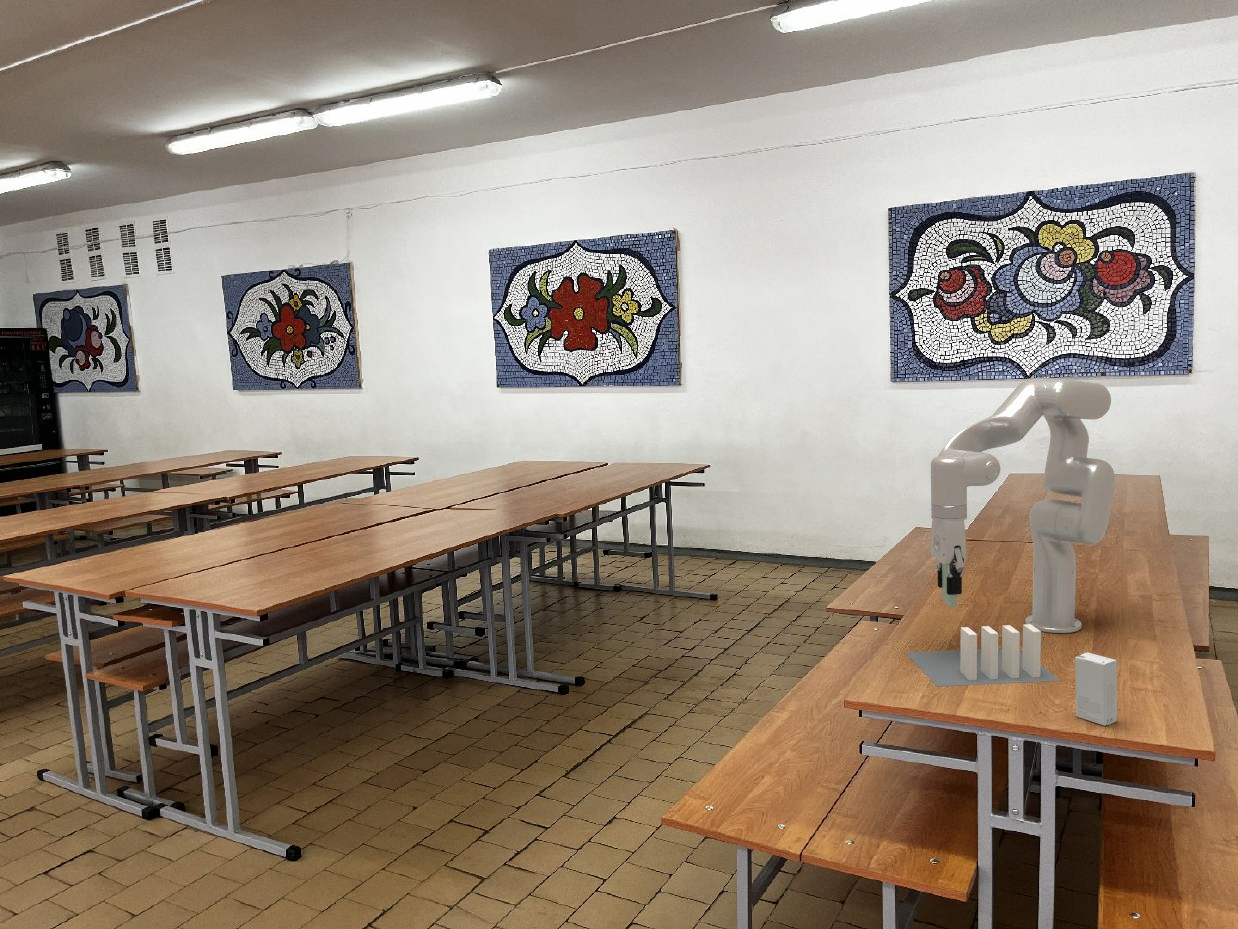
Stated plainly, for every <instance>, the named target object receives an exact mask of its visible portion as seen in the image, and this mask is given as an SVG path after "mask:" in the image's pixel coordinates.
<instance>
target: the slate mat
mask: <svg viewBox="0 0 1238 929" xmlns="http://www.w3.org/2000/svg"><path fill="white" fill-rule="evenodd" d="M905 654H906V655H907V656H908V657H909V658H910V659H911V660H912V662H913V663H914V664H915V665H916V666H917V667H918V668H919V669H920V670H921V671H922V672H923V673H924V675H925V676H926V677H927V678H928V679H929V681H931V682H932V683H933V684H934V685H935V686H936V688H937V687H939V688H941V687H961V686H978V685H980V686H981V685H999V684H1000V685H1002V684H1005V685H1006V684H1020V683H1021V684H1022V683H1023V684H1025V683H1044V682H1047V683H1048V682H1061V681H1062V680H1061V679H1059V678H1058V677H1057V676H1056V675H1054V674H1053V673H1052V672H1050V671H1049V670H1048V669H1046V668H1045V667H1044V666H1042V664H1040V677H1032V676H1030V675H1029V674H1028V673H1027V672H1026V671H1024V670H1023V669H1022V666H1023V649H1021V648H1019V678H1011V677H1009V676H1008V675H1007V674H1006V673H1005V672H1004V671H1002V647H998V679H989V678H988V677H987V676H986V675H985V674H984V673H983V672H982V671H981V648H977V680H968V679H967V678H966V677H965V676H964V675H963V674H962V673H961V672H960V656H961V649H955V650H954V649H953V650H933V651H931V650H930V651H912V652H911V651H910V652H905Z"/></svg>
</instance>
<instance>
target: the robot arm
mask: <svg viewBox="0 0 1238 929" xmlns="http://www.w3.org/2000/svg"><path fill="white" fill-rule="evenodd" d="M1111 403H1112V396H1111V394H1110V391H1109V389H1108V388H1107V387H1106V386H1105V385H1103V384H1101V383H1098V382H1089V381H1082V380H1076V379H1070V378H1069V379H1068V378H1056V377H1055V378H1054V377H1053V378H1050V377H1049V378H1046V377H1045V378H1044V377H1034V378H1033V377H1032V378H1028V379H1025V380H1023V381H1022V382H1020V383H1019V384H1018V386H1016V387H1015V388H1014V390H1013V391H1012V392H1011V393H1010V394H1009V396H1007V398H1006V399H1005V400H1004V402H1003V403H1002V404H1001V405H1000V406H998V408H997V409H996V410H995V412H993V414H991V415H990V416H989V417H986V418H984V419H982V420H979V421H978V422H976V423H974V424H972V425H970V426H967V427H965V428H963V430H960V431H959V432H957V433H956V434H955V435H954V436H953V437H952V438H950V440H949V441H948V442H947V443H946V444H945V446H944V447H943V448H942V449H941V451H940V452H939V454H938V456H935V457H934V458H932V459H931V461H930V512H931V513H930V516H931V519H932V520H931V528H930V530H931V532H930V555H931V557H932V558H934V559H935V560H936V561H937V565H936V568H937V587H938V588H940V589H942V564H944V565H947V569H948V577H946V578H947V594H948V595H956V594H957V595H961V594H962V592H963V587H962V586H963V571H964V569H965V563H966V561H967V539H966V537H967V536H966V526H965V525H966V524H965V520H966V519H968V487H985V486H988V485H990V484H992V483H994V482H996V480H997V479H998V478H999V476H1000V474H1001V464H1000V461H999V460H998V458H997V457H995V456H994V455H992V454H991V453H988V452H984V451H988V450H993V449H995V448H1000V447H1001V448H1003V447H1005V446H1010V445H1012V444H1017V443H1018V442H1021V440H1023V439H1024V437H1026V435H1027V434H1028V433H1029V431H1030V430H1031V429H1033V427H1034V426H1035V425H1036V424H1037V422H1038V421H1039V420H1040V419H1041V418H1042V417H1044V419H1045V421H1046V423H1047V426H1048V427H1049V432H1050V440H1049V447H1048V451H1047V457H1046V463H1045V467H1044V473H1043V484H1044V487H1045V488H1046V490H1047V491H1049V493H1052V494H1057V495H1061V496H1062V495H1063V496H1069V497H1075V498H1076V497H1077V498H1081V502H1076V501H1071V500H1070V501H1069V500H1062V499H1052V498H1048V499H1047V498H1046V499H1042V500H1039V501H1037V502H1036V503H1034V505H1032V507H1031V509H1030V511H1029V517H1028V520H1029V527H1030V533H1031V538H1032V550H1033V554H1032V555H1033V556H1032V558H1033V559H1032V560H1033V561H1032V566H1033V567H1032V613H1031V615H1028V616H1027V617H1025V624H1031V625H1032V626H1034V627H1035V628H1037V629H1038V630H1040V631H1041V632H1045V633H1053V634H1070V633H1074V632H1078V631H1079V630H1081V629H1082V622H1081V621H1080V620H1079V619H1078V618H1075V617H1076V614H1075V612H1076V574H1077V571H1076V570H1077V566H1076V565H1077V558H1076V557H1077V556H1076V552H1075V549H1074V547H1073V544H1071V543H1074V544H1079V545H1089V546H1090V545H1092V546H1093V545H1097V544H1099V543H1100V542H1101V541H1102V540H1103V538H1104V537H1105V535H1106V532H1107V529H1108V527H1109V526H1108V524H1109V520H1110V516H1111V510H1112V509H1111V508H1112V505H1113V498H1114V495H1115V494H1114V493H1115V487H1116V475H1115V471H1114V469H1113V466H1112V465H1111V464H1110V463H1109V462H1107V461H1105V460H1104V459H1101V458H1100V459H1099V458H1089V457H1088V449H1089V443H1090V435H1089V432H1088V429H1087V427H1086V424H1084V422H1083V421H1082V420H1098V419H1101V418H1103V417H1105V415H1106V414H1107V413H1108V411H1109V410H1110V408H1111V406H1112V404H1111ZM951 561H954V562H956V563H951ZM951 566H955V568H953V569H952V568H951Z"/></svg>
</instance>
